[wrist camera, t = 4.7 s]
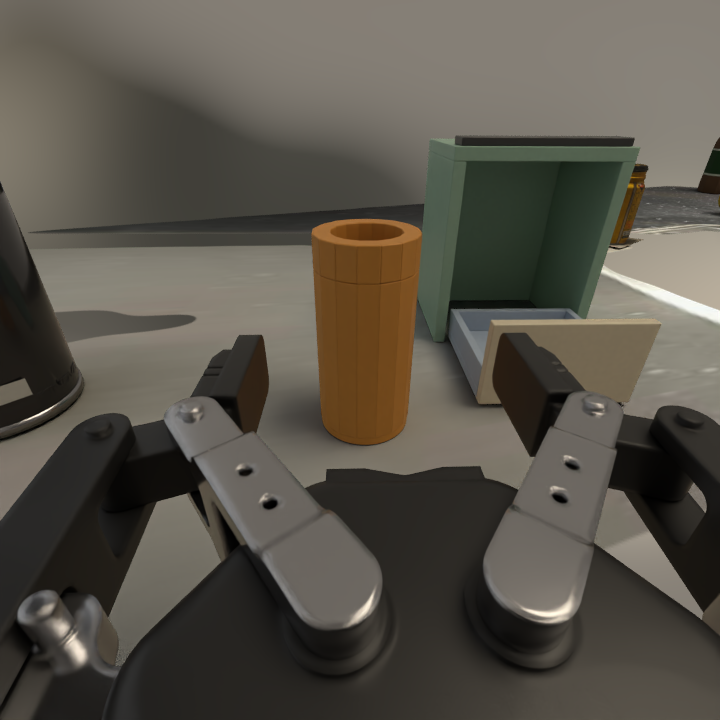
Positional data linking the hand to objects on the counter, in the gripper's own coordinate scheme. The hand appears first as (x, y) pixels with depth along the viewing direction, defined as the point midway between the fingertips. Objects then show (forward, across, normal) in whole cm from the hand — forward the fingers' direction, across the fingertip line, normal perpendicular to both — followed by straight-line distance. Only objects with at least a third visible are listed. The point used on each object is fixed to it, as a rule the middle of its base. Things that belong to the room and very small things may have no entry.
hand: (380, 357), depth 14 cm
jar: (+11, 0, +11) cm, 16 cm away
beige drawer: (+17, -14, +11) cm, 25 cm away
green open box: (+28, -14, +11) cm, 33 cm away
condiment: (+58, -44, +11) cm, 74 cm away
